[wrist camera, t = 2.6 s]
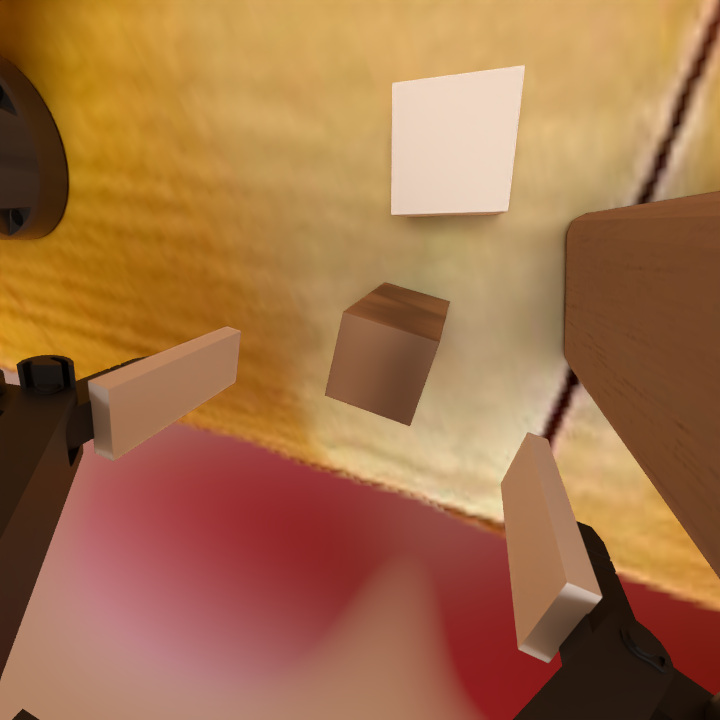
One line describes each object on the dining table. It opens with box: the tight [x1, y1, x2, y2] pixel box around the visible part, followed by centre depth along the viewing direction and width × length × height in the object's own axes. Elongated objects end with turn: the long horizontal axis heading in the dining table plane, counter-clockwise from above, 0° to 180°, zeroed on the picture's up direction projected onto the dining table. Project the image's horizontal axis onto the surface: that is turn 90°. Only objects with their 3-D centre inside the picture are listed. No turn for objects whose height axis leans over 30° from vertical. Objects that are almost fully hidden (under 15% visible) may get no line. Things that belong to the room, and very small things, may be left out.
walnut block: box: [325, 283, 450, 426], centre depth 23 cm, size 5×5×10 cm
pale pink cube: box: [391, 65, 525, 217], centre depth 20 cm, size 6×6×6 cm
